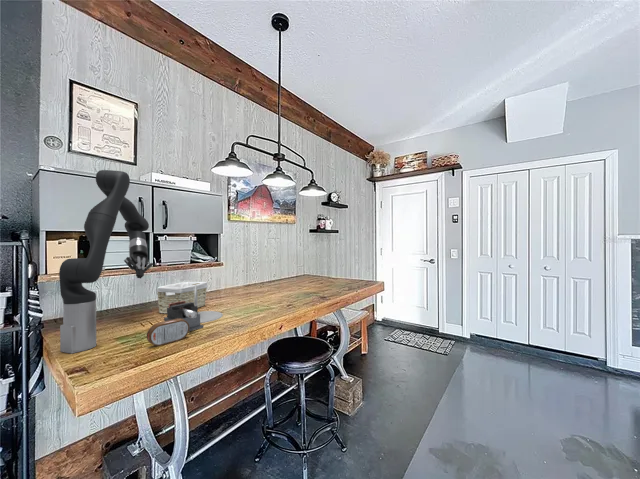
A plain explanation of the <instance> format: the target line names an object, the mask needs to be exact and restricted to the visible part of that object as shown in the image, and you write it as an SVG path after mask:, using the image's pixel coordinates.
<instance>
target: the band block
mask: <svg viewBox="0 0 640 479" xmlns="http://www.w3.org/2000/svg"><path fill="white" fill-rule="evenodd" d="M181 308H185V309H188V310H192V311H195V312H197V316H196V318H194V319H192V318H189V317H186V316H183V309H181ZM198 309H199V308H198ZM198 309H197V306H195V305H194V302H189V303H184V304H179V305H173V306H170V307H169V308H167V313H166V316H165V317H164V318H163V320H164V321H169V320H174V319H179V318H181V319H184V320H185V321H187V322H188V324H189V332H192V331H196V330H199V329H203V328H204V325H203V324H202V323H200V314H198V312H199V311H198ZM164 321H163V322H164Z"/></svg>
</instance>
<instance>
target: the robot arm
mask: <svg viewBox="0 0 640 479" xmlns="http://www.w3.org/2000/svg"><path fill="white" fill-rule="evenodd" d="M130 182H131V179H130V175H129V174H128V173H127V172H125V171H122V170H112V169H111V170H109V169H100V170H98V171H97V173H96V175H95V183H96V185H97V188H99V190H100V191H101V192H102V193H103V194H104V195H105V198H104V199H103V200H102V201H100V202H99V203H97V204H96V205H94V206H93V207H92V208H90V210H89V212H88V213H87V216H86V218H85V221H84V224H83V228H84V232H85V236H86V237H87V240H88V241H89V246H90V247H89V251H88V255H87V257H86V258H85V257H81V258H80V257H79V258H77V257H76V258H73V257H72V258H67V259H65V260H63V261H62V263H61V264H60V266H59V270H58V271H59V273H58V274H59V275H58V277H59V286H60V288H59V289H60V290H59V291H60V297H61V299H62V303H63V305H62V307H63V308H62V309H63V310H62V312H63V313H62V316H63V317H62V319H63V321H62V322H63V323H62V324H60V326H59V327H60V328H59V336H60V339H59V340H60V341H59V342H60V345H59V347H60V349H59V350H60V353H67V354H75V353H79V352H80V353H81V352H83V351H89V350H90V349H92V348H95V347H96V346H97V294H96V292H94V291H92V290H89V289H87V288H86V287H84V286H83V284H89V283H90V284H92V283H95V282H97V281H98V280H99V278H100V277H101V275H102V272H103V268H104V262H105V258H106V254H107V249H108V245H109V242H110V238H111V236H112V233H113V230H114V228H115V224H116V220H117V217H118V214H119V213H120V214H121V216H122V218H123V220H125V223H124V229H125V230H126V232H127V234H128V238H129V241H128V243H129V245H128V251H129V253H128V254H129V256H127V257H126V258H125V259H124V260H123V261H124V263H125V265H127V266H128V267H129V269H130V270H134V272H135V277H136V278H137V279H142V278H143V277H144V276H145V273H146V271H148V270H149V269H151V267H153V266H154V263H153V262H150V260H149V258H148V257H149V254H148V252H149V251H148V245H147V239H146V238H147V237H146V233H145V232H146V231H147V230H149V228H150V226H149V222H148V220H147V219H146V218H145V216H143V215H141V214H140V213H139V211H138V208H137V207H136V205H135V204H134V203H133V202H132V201H131V200H130V199H128V198H127V197H126V195H127V193H128V191H129V188H130V184H131V183H130ZM145 265H146V266H145Z"/></svg>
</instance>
